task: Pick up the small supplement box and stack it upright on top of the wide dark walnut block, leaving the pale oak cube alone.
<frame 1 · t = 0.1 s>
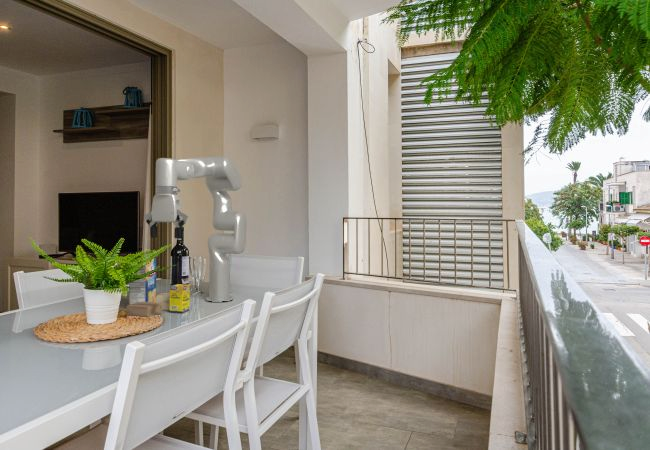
hand: (165, 237, 164), 31 cm above the table, tool pointing down, fingers open, 9 cm apart
oak cube: (165, 308, 187), on the table
walnut block: (144, 317, 171), on the table
beverage box: (142, 307, 190), on the table
supplement box: (179, 312, 181), on the table
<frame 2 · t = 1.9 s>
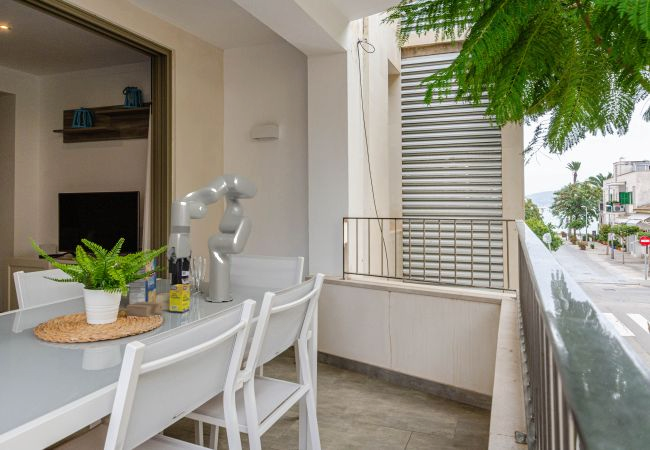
hand: (179, 272, 180), 16 cm above the table, tool pointing down, fingers open, 9 cm apart
nothing on the table moved.
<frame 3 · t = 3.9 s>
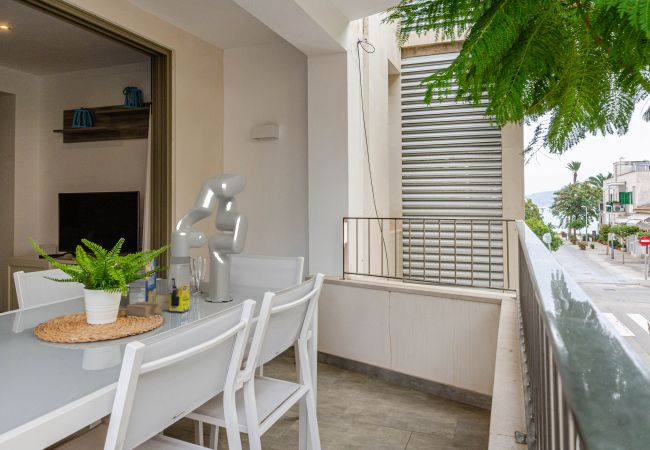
hand: (179, 304, 181), 3 cm above the table, tool pointing down, fingers closed on supplement box, 6 cm apart
supplement box: (179, 312, 181), on the table, touching gripper
everything else where it was.
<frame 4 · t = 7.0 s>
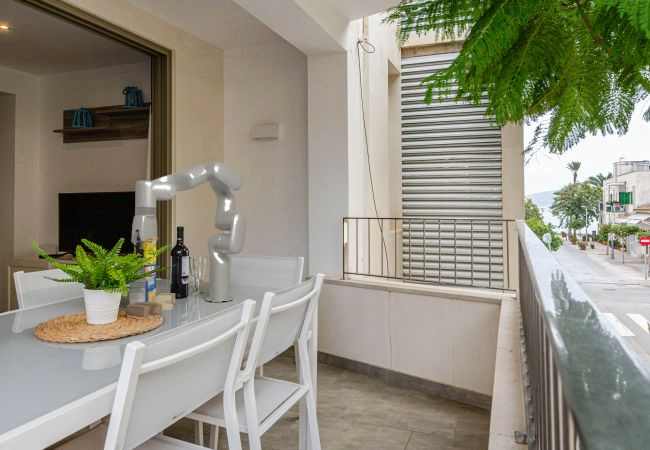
hand: (145, 258, 171), 23 cm above the table, tool pointing down, fingers closed on supplement box, 6 cm apart
supplement box: (145, 266, 171), point 19 cm above the table, touching gripper
everything else where it was.
when the fingers open (9 cm above the table, at t = 10.2 s): supplement box drops 1 cm, resting on walnut block.
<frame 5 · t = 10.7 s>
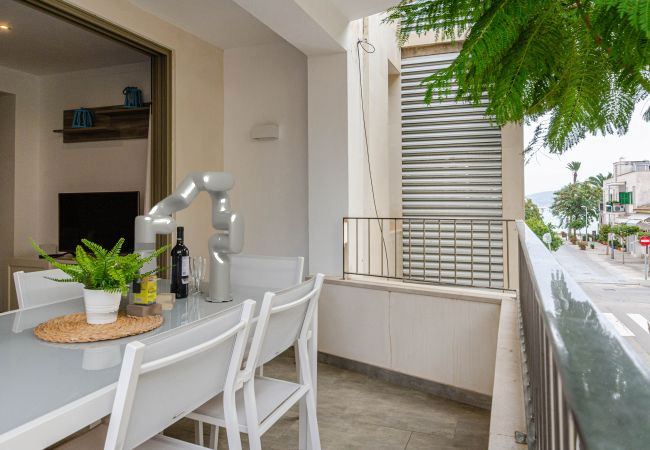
hand: (144, 291, 171), 10 cm above the table, tool pointing down, fingers open, 9 cm apart
walnut block: (144, 317, 171), on the table, touching supplement box
supplement box: (145, 304, 171), point 4 cm above the table, touching walnut block
everything else where it was.
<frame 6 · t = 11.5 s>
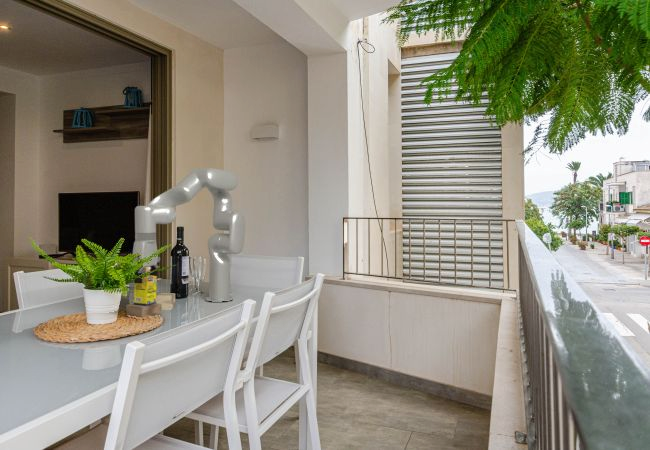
hand: (146, 281, 172), 14 cm above the table, tool pointing down, fingers open, 9 cm apart
nothing on the table moved.
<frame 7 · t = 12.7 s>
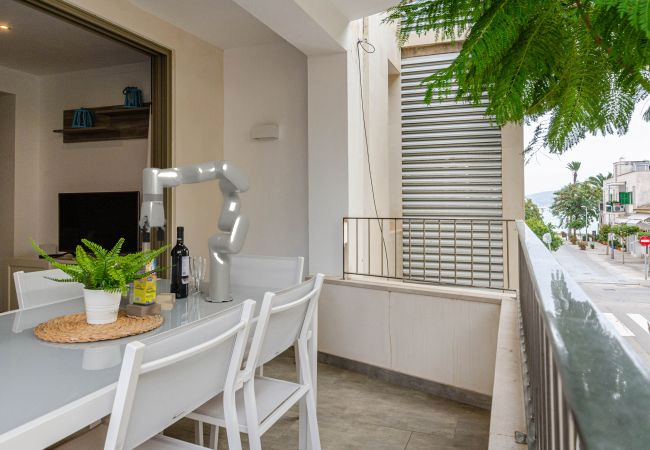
hand: (153, 241, 177), 29 cm above the table, tool pointing down, fingers open, 9 cm apart
nothing on the table moved.
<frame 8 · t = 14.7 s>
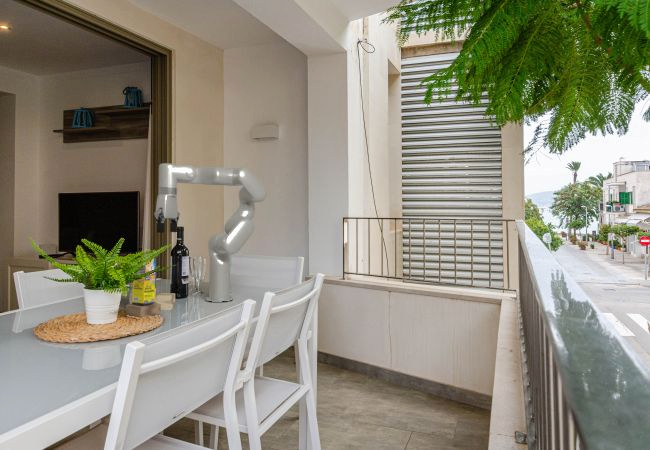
hand: (167, 232, 189), 32 cm above the table, tool pointing down, fingers open, 9 cm apart
walnut block: (143, 317, 171), on the table
supplement box: (143, 304, 171), point 5 cm above the table
everything else where it was.
at the end: supplement box inside the target area on the walnut block (0.1 cm from its centre), point 5.0 cm above the walnut block's base; supplement box tilted 3°; the gripper is holding nothing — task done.
